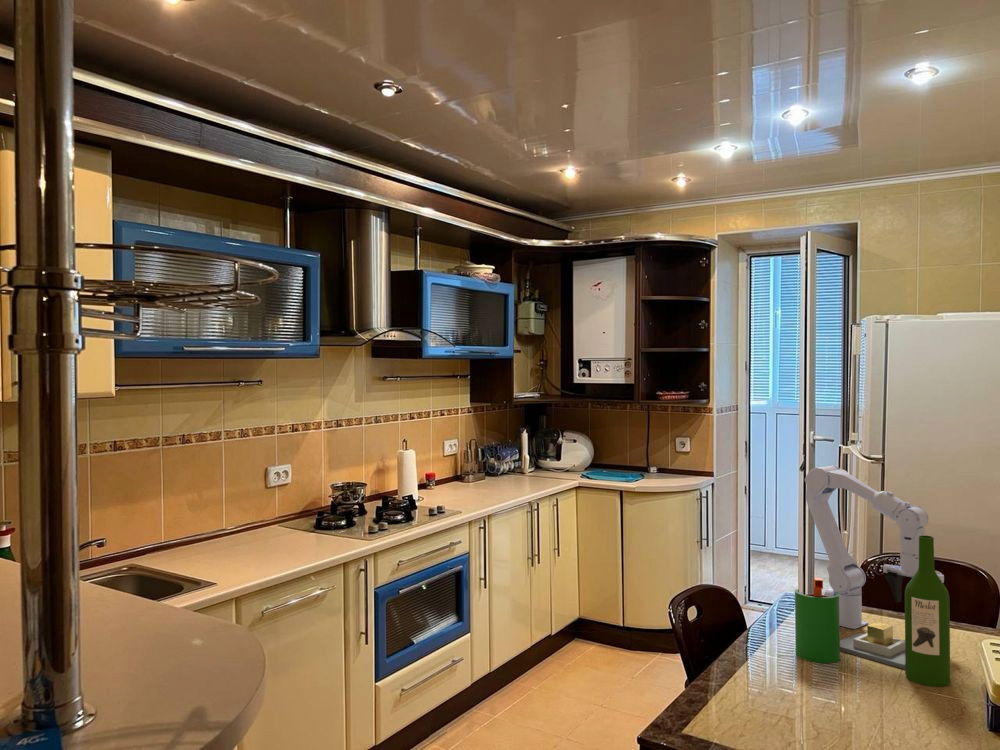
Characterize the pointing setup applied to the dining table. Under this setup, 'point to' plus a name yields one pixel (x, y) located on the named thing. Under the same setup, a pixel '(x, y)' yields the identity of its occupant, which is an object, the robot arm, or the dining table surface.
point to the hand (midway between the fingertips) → (913, 605)
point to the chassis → (875, 650)
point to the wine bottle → (927, 622)
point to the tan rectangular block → (880, 634)
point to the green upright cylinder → (817, 625)
